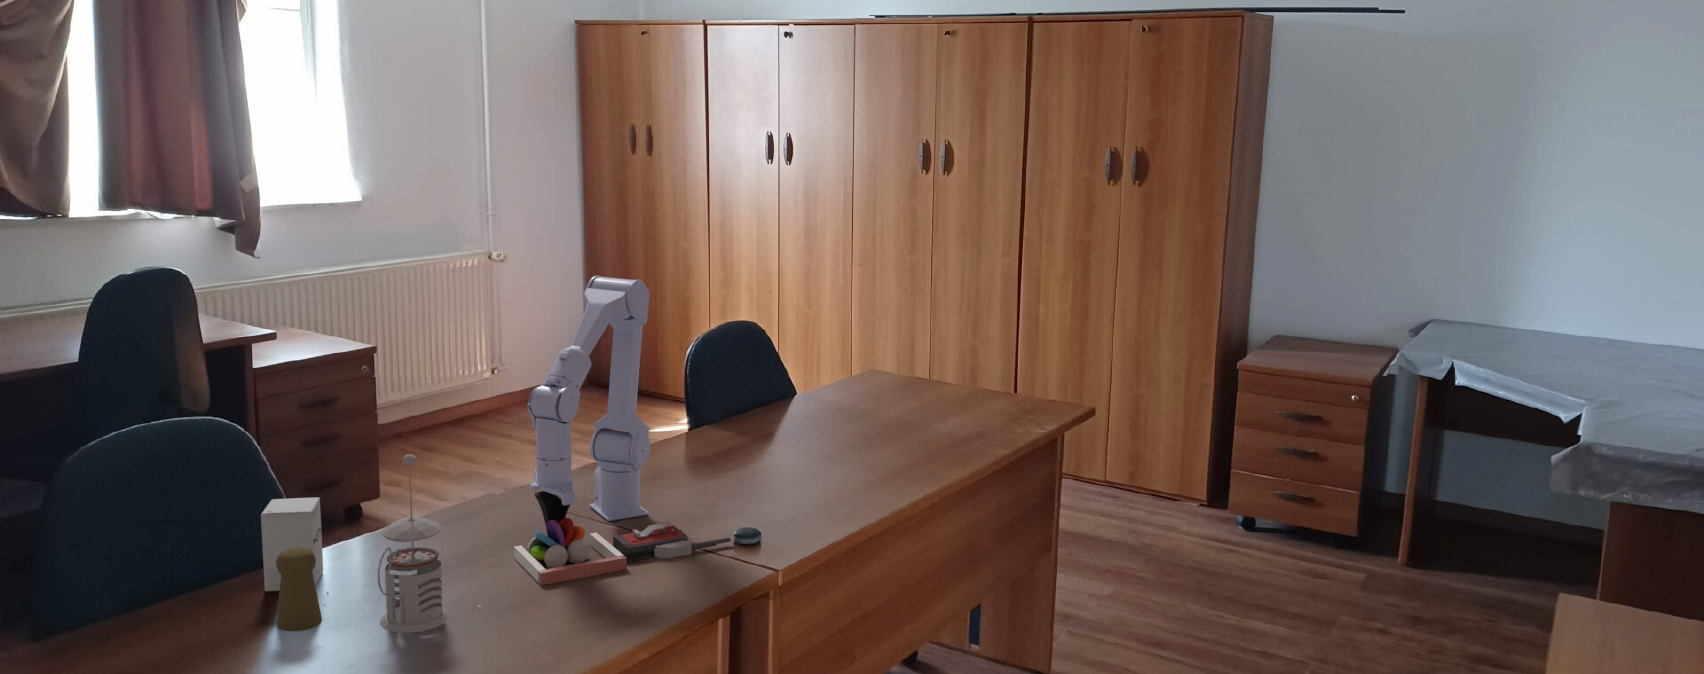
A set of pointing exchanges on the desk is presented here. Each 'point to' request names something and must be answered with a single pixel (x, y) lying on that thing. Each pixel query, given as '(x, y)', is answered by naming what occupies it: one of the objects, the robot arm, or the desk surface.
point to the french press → (409, 608)
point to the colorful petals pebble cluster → (559, 544)
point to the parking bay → (569, 572)
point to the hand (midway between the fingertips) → (554, 533)
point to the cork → (297, 590)
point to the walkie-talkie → (659, 543)
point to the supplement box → (290, 534)
